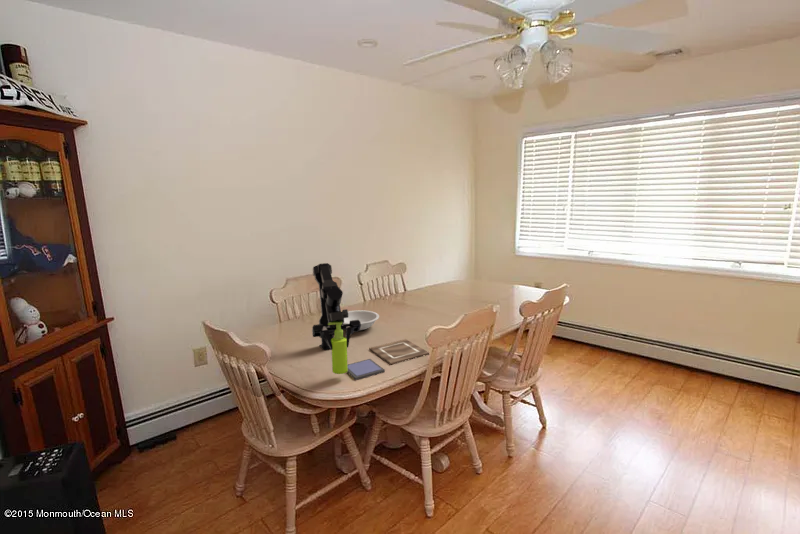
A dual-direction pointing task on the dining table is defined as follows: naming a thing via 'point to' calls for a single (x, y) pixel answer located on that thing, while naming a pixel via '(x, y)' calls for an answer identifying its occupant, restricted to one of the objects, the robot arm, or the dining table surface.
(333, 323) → the soap dispenser
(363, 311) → the soup bowl
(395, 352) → the board
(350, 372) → the ink pad
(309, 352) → the dining table surface
